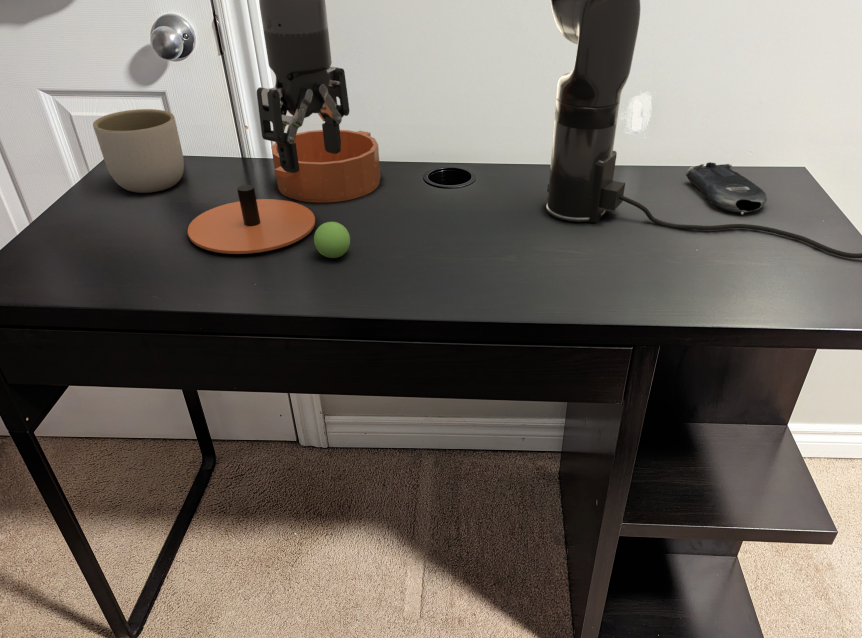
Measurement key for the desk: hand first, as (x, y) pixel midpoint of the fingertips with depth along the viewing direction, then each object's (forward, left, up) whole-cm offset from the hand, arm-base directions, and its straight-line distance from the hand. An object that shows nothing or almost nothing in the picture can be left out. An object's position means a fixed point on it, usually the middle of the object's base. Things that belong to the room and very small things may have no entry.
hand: (313, 161), depth 90 cm
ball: (-2, 0, -11) cm, 11 cm away
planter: (+42, -6, -13) cm, 44 cm away
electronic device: (-46, -50, -13) cm, 69 cm away
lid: (+14, -1, -12) cm, 19 cm away
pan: (+16, -22, -13) cm, 30 cm away
